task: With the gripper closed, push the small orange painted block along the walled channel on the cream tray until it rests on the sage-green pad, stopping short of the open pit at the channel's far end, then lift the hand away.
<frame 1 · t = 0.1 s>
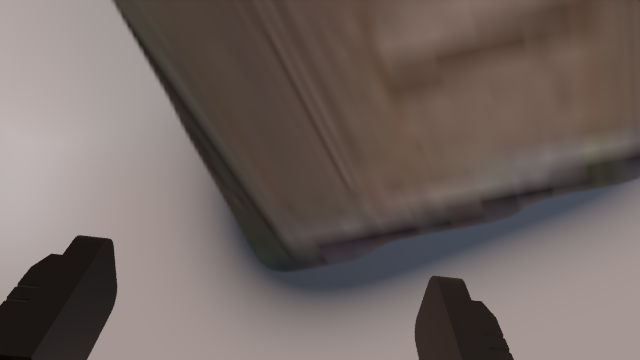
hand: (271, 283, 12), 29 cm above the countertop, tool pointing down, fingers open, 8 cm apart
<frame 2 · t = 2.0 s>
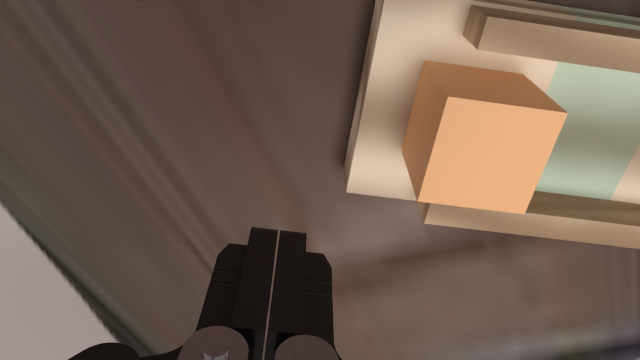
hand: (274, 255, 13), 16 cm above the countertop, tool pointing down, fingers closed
block: (459, 114, 25), point 3 cm above the countertop, touching cream tray
cream tray: (555, 108, 28), on the countertop
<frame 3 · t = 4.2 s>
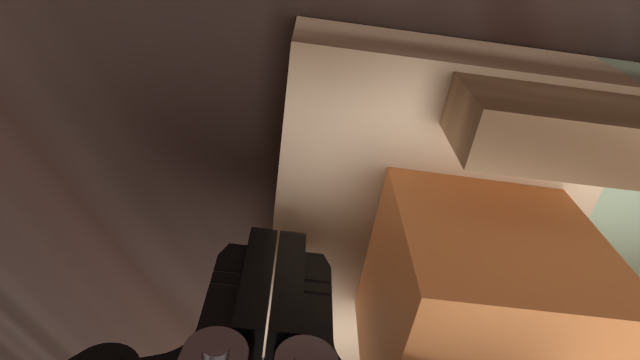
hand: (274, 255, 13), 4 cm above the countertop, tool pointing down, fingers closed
block: (451, 249, 14), point 3 cm above the countertop, touching cream tray, gripper
cream tray: (597, 215, 17), on the countertop
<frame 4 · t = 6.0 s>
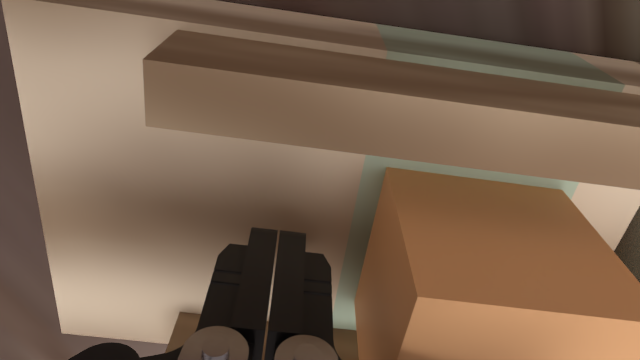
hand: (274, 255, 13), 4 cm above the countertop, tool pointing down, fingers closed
block: (450, 249, 15), point 3 cm above the countertop, touching cream tray, gripper
cream tray: (414, 192, 17), on the countertop
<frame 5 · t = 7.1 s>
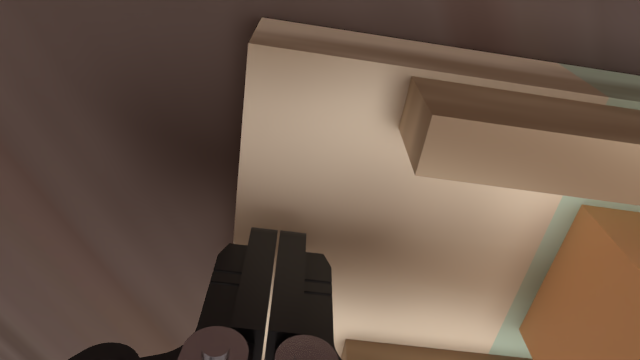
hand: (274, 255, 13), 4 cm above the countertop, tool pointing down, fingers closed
block: (624, 281, 15), point 3 cm above the countertop, touching cream tray
cream tray: (563, 221, 17), on the countertop
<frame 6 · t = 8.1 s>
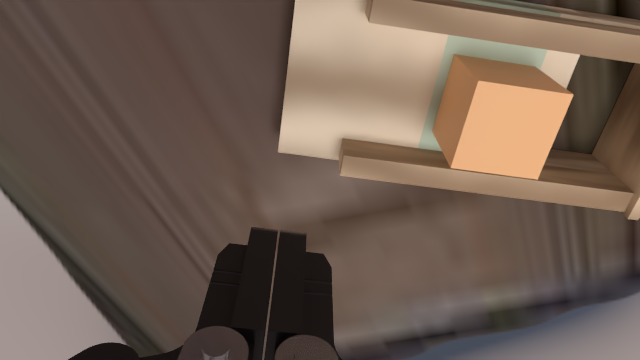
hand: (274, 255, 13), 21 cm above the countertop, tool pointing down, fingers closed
block: (481, 100, 30), point 3 cm above the countertop, touching cream tray
cream tray: (460, 81, 32), on the countertop
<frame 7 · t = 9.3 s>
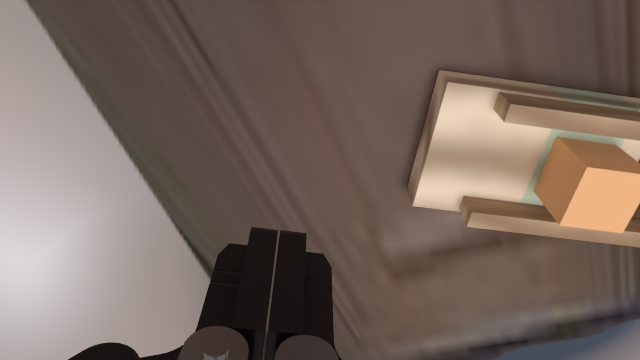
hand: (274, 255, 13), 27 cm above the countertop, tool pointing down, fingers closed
block: (574, 168, 39), point 3 cm above the countertop, touching cream tray
cream tray: (551, 149, 42), on the countertop
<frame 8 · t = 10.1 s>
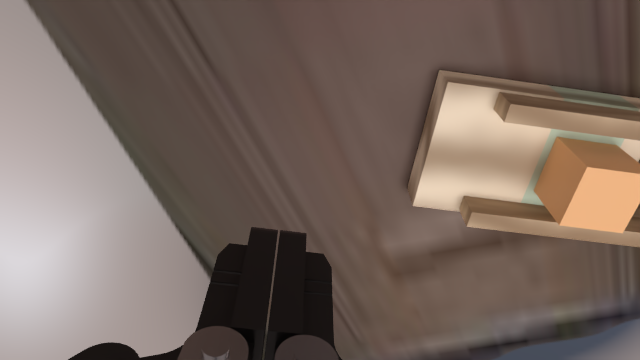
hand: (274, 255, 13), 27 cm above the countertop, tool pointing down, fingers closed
block: (574, 168, 39), point 3 cm above the countertop, touching cream tray
cream tray: (551, 149, 42), on the countertop
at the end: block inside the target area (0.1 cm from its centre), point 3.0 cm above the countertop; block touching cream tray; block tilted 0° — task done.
